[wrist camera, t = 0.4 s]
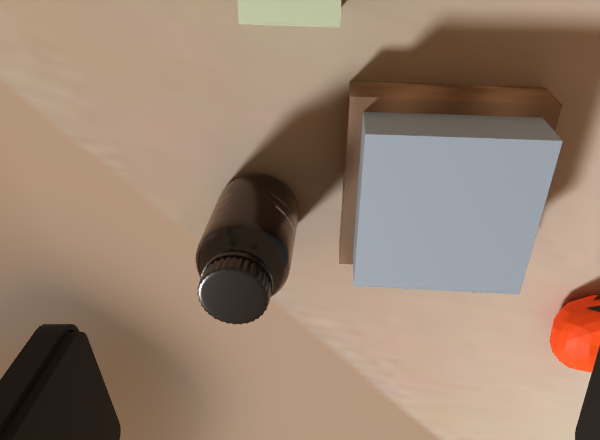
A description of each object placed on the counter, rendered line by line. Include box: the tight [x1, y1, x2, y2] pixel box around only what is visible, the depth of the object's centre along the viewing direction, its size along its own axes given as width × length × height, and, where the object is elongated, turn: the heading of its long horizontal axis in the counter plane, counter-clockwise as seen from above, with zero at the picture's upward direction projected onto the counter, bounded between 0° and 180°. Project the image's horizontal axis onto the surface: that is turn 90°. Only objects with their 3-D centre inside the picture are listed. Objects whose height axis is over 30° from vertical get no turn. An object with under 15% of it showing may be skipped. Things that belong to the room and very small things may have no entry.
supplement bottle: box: [196, 174, 298, 324], centre depth 40 cm, size 7×7×12 cm
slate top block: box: [353, 112, 563, 294], centre depth 38 cm, size 12×12×4 cm
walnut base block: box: [339, 81, 562, 264], centre depth 41 cm, size 14×14×4 cm
